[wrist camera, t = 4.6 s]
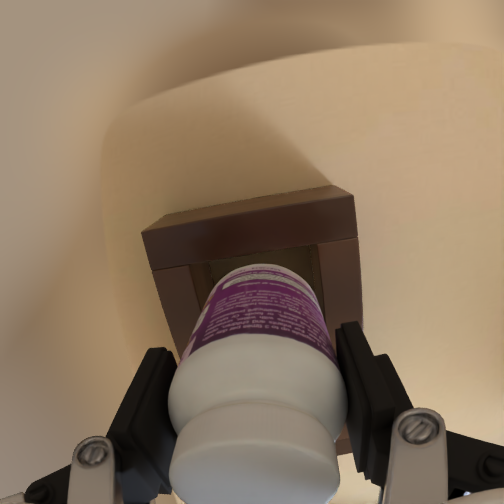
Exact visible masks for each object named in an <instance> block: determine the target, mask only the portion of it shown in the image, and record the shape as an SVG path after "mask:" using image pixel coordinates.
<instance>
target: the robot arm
mask: <svg viewBox="0 0 504 504" xmlns="http://www.w3.org/2000/svg"><path fill="white" fill-rule="evenodd" d="M335 339H336V355H337V360H338V363H339V367H340V370H341V373H342V375H343V378H344V381H345V384H346V389H347V395H348V413H347V418H346V421H345V422H346V426H347V430H348V434H349V439H350V443H351V447H352V451H353V456H354V460H355V465H356V469H357V472H358V473H360V472H364V476H365V480H368V479H371V483H373V484H375V485H378V486H380V490H379V496H378V502H377V504H504V446H500V445H496V444H493V443H489V442H485V441H481V440H478V439H474V438H471V437H467V436H464V435H460V434H457V433H454V432H450V431H447V430H446V427H445V423H444V419H443V418H442V417H441V415H440V414H438V413H437V412H435V411H434V410H431V409H428V408H414V407H413V405H412V403H411V401H410V399H409V397H408V395H407V393H406V391H405V388H404V386H403V384H402V382H401V380H400V378H399V376H398V374H397V372H396V370H395V368H394V366H393V364H392V362H391V360H390V358H389V356H388V355H387V354H382V355H377V356H374V355H373V353H372V351H371V348H370V346H369V344H368V342H367V340H366V337H365V335H364V333H363V331H362V329H361V327H360V325H359V322H358V321H357V320H356V321H351V322H346V323H341V326H340V328H338V329H335ZM177 367H178V366H177V364H176V361H175V358H174V356H173V353H172V352H171V351H167V349H166V348H165V347H158V348H149V349H148V350H147V352H146V354H145V356H144V358H143V360H142V362H141V364H140V366H139V368H138V370H137V372H136V374H135V376H134V378H133V381H132V383H131V385H130V387H129V388H128V390H127V392H126V394H125V397H124V399H123V401H122V403H121V405H120V407H119V409H118V411H117V413H116V415H115V418H114V420H113V422H112V424H111V426H110V428H109V431H108V432H107V435H106V437H103V436H92V437H88V438H86V439H84V440H83V441H81V442H80V443H79V444H78V445H77V447H76V448H75V449H74V452H73V456H72V464H70V465H68V466H66V467H64V468H62V469H60V470H58V471H56V472H54V473H51V474H50V475H48V476H45V477H43V478H41V479H39V480H37V481H35V482H33V483H32V484H31V485H30V486H29V487H28V488H27V490H26V492H25V494H24V493H23V492H20V493H17V494H14V495H12V496H8V497H6V498H2V499H0V504H156V503H155V498H156V497H157V496H158V494H171V492H172V486H171V484H170V480H169V469H170V464H171V460H172V456H173V452H174V449H175V445H176V441H177V438H178V435H177V434H176V432H175V430H174V428H173V426H172V423H171V420H170V416H169V411H168V395H169V389H170V386H171V383H172V380H173V377H174V374H175V372H176V369H177Z"/></svg>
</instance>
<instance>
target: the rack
mask: <svg viewBox="0 0 504 504" xmlns="http://www.w3.org/2000/svg"><path fill="white" fill-rule="evenodd" d="M141 234H142V238H143V242H144V246H145V249H146V253H147V257H148V260H149V264H150V267H151V270H152V274H153V277H154V281H155V284H156V287H157V291H158V294H159V297H160V300H161V304H162V307H163V310H164V313H165V316H166V319H167V322H168V325H169V328H170V331H171V334H172V337H173V340H174V343H175V346H176V349H177V352H178V354H179V357H180V360H181V358H182V355H183V353H184V351H185V349H186V347H187V344H188V342H189V339H190V337H191V335H192V332H193V330H194V328H195V326H196V323H197V321H198V319H199V316H200V314H201V312H202V310H203V308H204V305H205V303H206V301H207V299H208V297H209V295H210V293H211V291H212V290H213V288H214V283H213V279H212V275H211V271H210V267H209V263H208V261H213V260H219V259H225V258H232V257H238V256H244V255H250V254H256V253H262V252H268V251H274V250H281V249H287V248H293V247H299V246H305V245H309V247H310V255H311V262H312V270H313V278H314V287H315V295H316V298H317V301H318V304H319V307H320V309H321V312H322V315H323V319H324V322H325V325H326V328H327V331H328V334H329V337H330V340H331V343H332V346H333V349H334V352H335V354H336V339H335V329H338V328H340V326H341V323H346V322H351V321H356V320H357V321H358V322H359V325H360V327H361V329H362V331H363V303H362V283H361V267H360V253H359V241H358V237H357V236H358V231H357V221H356V212H355V203H354V196H353V195H352V194H350V193H349V192H347V191H345V190H343V189H341V188H339V187H337V186H335V185H333V186H326V187H319V188H313V189H306V190H300V191H293V192H287V193H281V194H275V195H269V196H263V197H257V198H252V199H246V200H240V201H235V202H229V203H224V204H219V205H213V206H208V207H203V208H198V209H193V210H188V211H183V212H178V213H173V214H168V215H165V216H163V217H162V218H160V219H159V220H158V221H156V222H155V223H153V224H152V225H150V226H149V227H148V228H146V229H145V230H143V231H142V232H141ZM336 358H337V355H336ZM335 445H336V454H337V456H338V455H343V454H348V453H353V451H352V447H351V443H350V439H349V434H348V430H347V426H346V422H345V424H344V427H343V429H342V431H341V433H340V435H339V437H338V438H337V440H336V441H335Z"/></svg>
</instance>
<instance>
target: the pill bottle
mask: <svg viewBox="0 0 504 504" xmlns="http://www.w3.org/2000/svg"><path fill="white" fill-rule="evenodd" d="M168 411H169V416H170V420H171V423H172V426H173V428H174V430H175V432H176V434H177V435H178V438H177V441H176V445H175V449H174V452H173V456H172V460H171V464H170V469H169V480H170V484H171V486H172V489H173V491H174V492H175V493H176V494H177V496H178V497H179V498H180V499H181V500H183V501H184V502H185V503H186V504H327V503H328V502H329V501H330V500H331V499H332V498H333V496H334V495H335V494H336V492H337V490H338V487H339V485H340V473H339V466H338V460H337V454H336V445H335V441H336V440H337V438H338V437H339V435H340V433H341V431H342V429H343V427H344V424H345V421H346V418H347V413H348V395H347V389H346V384H345V381H344V378H343V375H342V373H341V370H340V367H339V363H338V360H337V358H336V354H335V352H334V349H333V346H332V343H331V340H330V337H329V334H328V331H327V328H326V325H325V322H324V319H323V315H322V312H321V309H320V307H319V304H318V301H317V298H316V296H315V294H314V292H313V291H312V289H311V287H310V286H309V285H308V284H307V282H306V281H305V280H304V279H302V278H301V277H300V276H299V275H297V274H296V273H294V272H292V271H291V270H289V269H286V268H284V267H281V266H278V265H274V264H252V265H247V266H244V267H240V268H237V269H235V270H233V271H232V272H230V273H228V274H227V275H226V276H224V277H223V278H222V279H221V280H220V281H219V282H218V283H217V284H216V286H215V287H214V288H213V290H212V291H211V293H210V295H209V297H208V299H207V301H206V303H205V305H204V308H203V310H202V312H201V314H200V316H199V319H198V321H197V323H196V326H195V328H194V330H193V332H192V335H191V337H190V339H189V342H188V344H187V347H186V349H185V351H184V353H183V355H182V358H181V360H180V363H179V365H178V367H177V369H176V372H175V374H174V377H173V380H172V383H171V386H170V389H169V395H168Z"/></svg>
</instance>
